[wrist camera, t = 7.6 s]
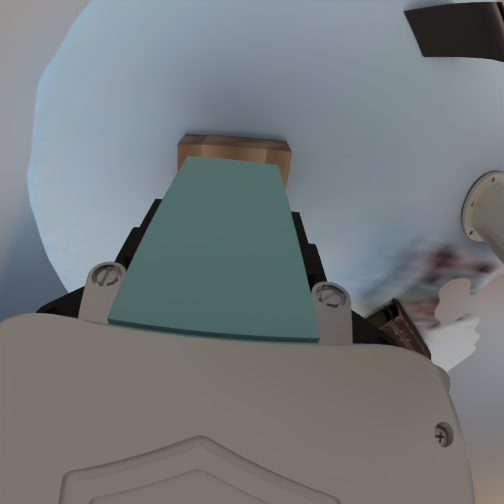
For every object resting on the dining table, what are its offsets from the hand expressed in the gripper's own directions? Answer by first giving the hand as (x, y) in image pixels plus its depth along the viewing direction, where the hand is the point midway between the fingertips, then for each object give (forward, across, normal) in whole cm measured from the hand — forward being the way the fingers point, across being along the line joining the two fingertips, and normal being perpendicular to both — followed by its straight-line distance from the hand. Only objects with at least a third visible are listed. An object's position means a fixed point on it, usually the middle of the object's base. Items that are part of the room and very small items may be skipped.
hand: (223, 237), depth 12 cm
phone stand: (+22, -21, -19) cm, 36 cm away
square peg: (+3, 0, 0) cm, 3 cm away
